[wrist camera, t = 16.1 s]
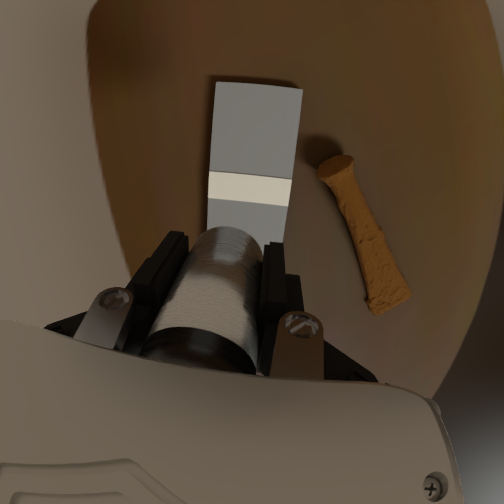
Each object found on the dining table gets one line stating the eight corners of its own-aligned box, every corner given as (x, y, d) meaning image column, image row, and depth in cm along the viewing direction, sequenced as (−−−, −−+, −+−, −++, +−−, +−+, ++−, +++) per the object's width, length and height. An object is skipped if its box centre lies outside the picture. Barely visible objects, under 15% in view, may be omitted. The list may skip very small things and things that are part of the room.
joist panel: (276, 275, 29) (276, 281, 28) (208, 267, 29) (205, 273, 28) (301, 90, 21) (303, 89, 20) (218, 83, 21) (215, 81, 20)
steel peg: (259, 293, 13) (245, 460, 6) (191, 285, 13) (134, 439, 6) (267, 230, 12) (258, 409, 5) (191, 222, 12) (99, 377, 5)
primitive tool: (411, 294, 30) (422, 312, 26) (372, 315, 31) (379, 335, 28) (343, 146, 23) (354, 151, 20) (292, 176, 25) (295, 185, 22)
